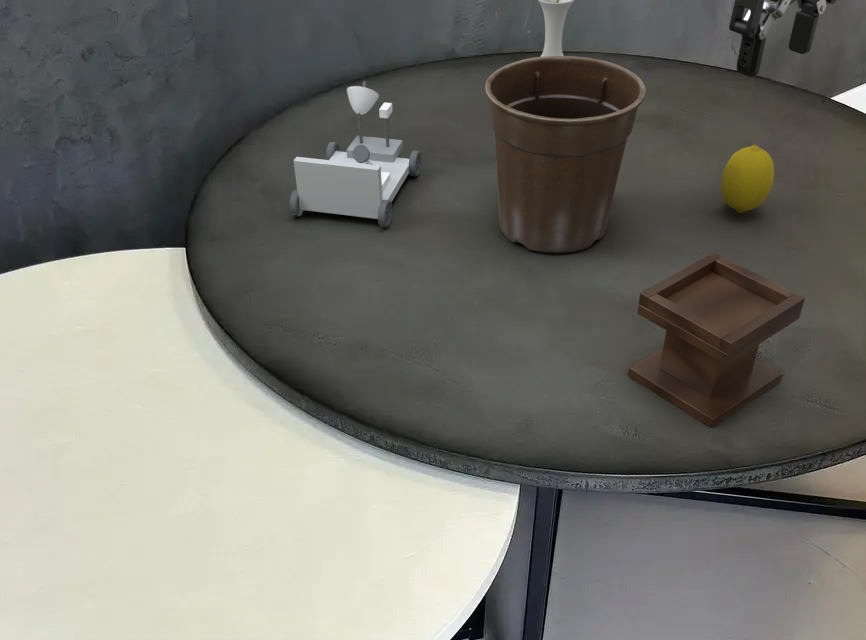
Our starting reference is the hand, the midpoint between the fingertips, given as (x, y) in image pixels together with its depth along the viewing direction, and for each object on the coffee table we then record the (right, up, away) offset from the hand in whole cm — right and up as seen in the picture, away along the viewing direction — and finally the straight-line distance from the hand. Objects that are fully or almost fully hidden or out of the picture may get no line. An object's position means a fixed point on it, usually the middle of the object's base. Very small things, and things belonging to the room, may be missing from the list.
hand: (773, 62), depth 101 cm
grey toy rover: (-43, -7, +19) cm, 48 cm away
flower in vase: (-18, +9, +33) cm, 39 cm away
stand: (-10, -34, -9) cm, 36 cm away
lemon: (+1, -12, +12) cm, 17 cm away
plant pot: (-21, -14, +11) cm, 27 cm away
